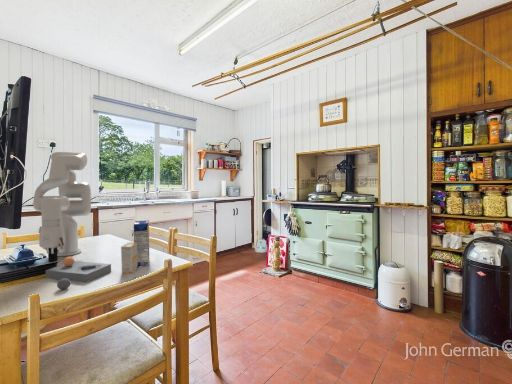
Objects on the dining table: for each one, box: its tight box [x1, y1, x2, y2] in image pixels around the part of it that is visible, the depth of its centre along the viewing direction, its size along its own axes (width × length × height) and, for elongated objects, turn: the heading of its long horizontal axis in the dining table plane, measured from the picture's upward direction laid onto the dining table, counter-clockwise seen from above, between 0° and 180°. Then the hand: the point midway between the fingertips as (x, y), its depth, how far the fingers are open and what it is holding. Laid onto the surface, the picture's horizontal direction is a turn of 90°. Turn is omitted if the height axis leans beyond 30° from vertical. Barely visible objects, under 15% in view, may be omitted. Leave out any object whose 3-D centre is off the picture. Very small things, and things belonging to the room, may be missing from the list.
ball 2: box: [56, 278, 72, 290], centre depth 107 cm, size 4×4×4 cm
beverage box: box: [133, 220, 150, 268], centre depth 139 cm, size 7×11×22 cm, turn 21°
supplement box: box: [120, 241, 139, 274], centre depth 129 cm, size 8×5×13 cm, turn 5°
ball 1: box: [62, 256, 75, 266], centre depth 124 cm, size 4×4×4 cm
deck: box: [45, 260, 112, 283], centre depth 123 cm, size 22×14×4 cm, turn 78°
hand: (53, 261), depth 126 cm, fingers closed
